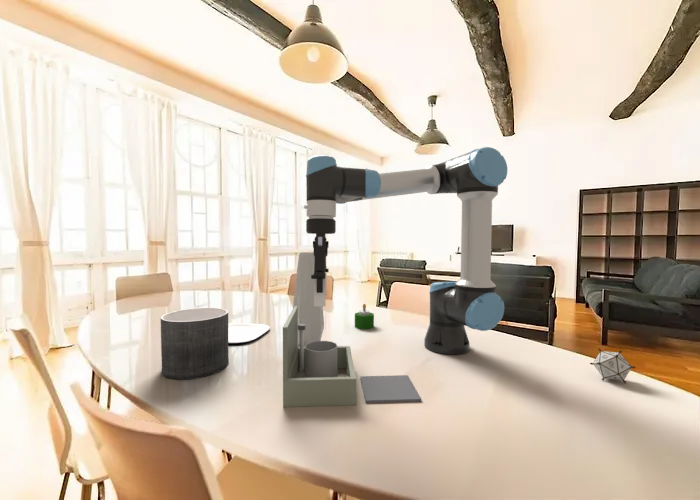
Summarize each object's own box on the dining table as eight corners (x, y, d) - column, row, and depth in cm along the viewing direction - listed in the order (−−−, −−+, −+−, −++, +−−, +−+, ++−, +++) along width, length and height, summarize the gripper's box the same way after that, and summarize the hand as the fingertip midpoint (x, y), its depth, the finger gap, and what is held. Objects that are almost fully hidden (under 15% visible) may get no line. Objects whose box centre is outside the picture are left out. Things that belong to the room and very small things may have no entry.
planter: (241, 361, 98) (241, 310, 98) (191, 385, 82) (190, 324, 82) (200, 352, 106) (200, 305, 105) (147, 373, 90) (146, 317, 89)
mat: (407, 377, 87) (407, 375, 87) (421, 401, 74) (421, 398, 74) (360, 378, 86) (360, 376, 86) (365, 403, 73) (365, 400, 73)
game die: (613, 391, 87) (632, 361, 88) (628, 393, 80) (649, 360, 80) (578, 369, 91) (597, 340, 92) (589, 369, 83) (609, 338, 84)
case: (350, 366, 95) (350, 305, 94) (355, 404, 72) (356, 326, 72) (294, 367, 94) (294, 306, 93) (283, 407, 71) (282, 327, 71)
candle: (353, 328, 135) (353, 305, 134) (356, 323, 143) (356, 301, 142) (372, 329, 133) (373, 306, 133) (374, 324, 141) (374, 302, 141)
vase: (332, 345, 113) (332, 252, 112) (302, 352, 106) (302, 253, 105) (316, 337, 123) (316, 251, 122) (288, 342, 117) (287, 252, 115)
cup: (332, 392, 78) (332, 352, 78) (300, 389, 80) (300, 350, 80) (340, 378, 86) (340, 341, 86) (311, 375, 88) (311, 339, 88)
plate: (220, 325, 140) (220, 322, 140) (275, 328, 137) (275, 324, 137) (182, 344, 115) (182, 339, 115) (248, 348, 112) (248, 343, 112)
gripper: (309, 221, 94) (309, 292, 95) (301, 214, 69) (301, 311, 70) (335, 221, 94) (334, 292, 95) (336, 214, 70) (335, 311, 70)
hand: (320, 300), depth 82 cm, fingers open, 13 cm apart
